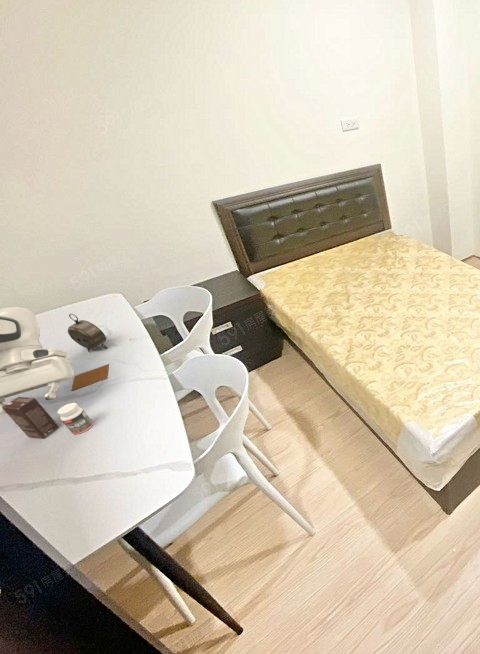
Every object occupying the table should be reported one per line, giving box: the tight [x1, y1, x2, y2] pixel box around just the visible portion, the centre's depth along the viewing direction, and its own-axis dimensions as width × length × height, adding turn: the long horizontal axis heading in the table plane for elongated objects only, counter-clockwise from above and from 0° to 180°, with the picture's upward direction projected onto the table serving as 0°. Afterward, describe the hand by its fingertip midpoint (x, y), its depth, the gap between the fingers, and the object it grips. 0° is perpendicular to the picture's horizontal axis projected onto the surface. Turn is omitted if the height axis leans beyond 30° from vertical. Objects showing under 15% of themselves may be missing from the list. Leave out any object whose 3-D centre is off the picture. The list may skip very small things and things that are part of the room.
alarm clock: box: [67, 313, 108, 353], centre depth 146 cm, size 11×5×16 cm, turn 76°
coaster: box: [71, 363, 110, 391], centre depth 136 cm, size 9×9×1 cm
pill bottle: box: [57, 402, 94, 435], centre depth 115 cm, size 5×5×8 cm
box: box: [2, 396, 60, 439], centre depth 113 cm, size 6×4×12 cm
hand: (29, 405), depth 114 cm, fingers open, 8 cm apart
